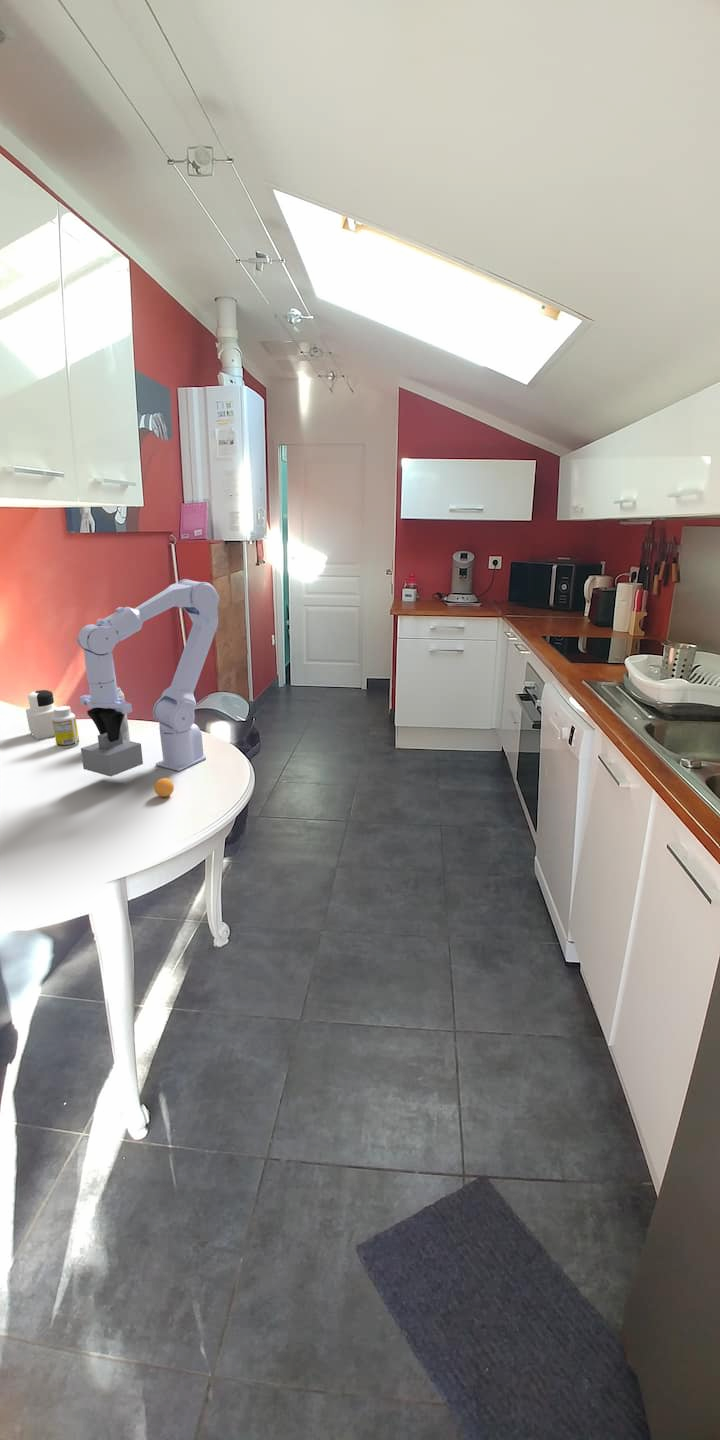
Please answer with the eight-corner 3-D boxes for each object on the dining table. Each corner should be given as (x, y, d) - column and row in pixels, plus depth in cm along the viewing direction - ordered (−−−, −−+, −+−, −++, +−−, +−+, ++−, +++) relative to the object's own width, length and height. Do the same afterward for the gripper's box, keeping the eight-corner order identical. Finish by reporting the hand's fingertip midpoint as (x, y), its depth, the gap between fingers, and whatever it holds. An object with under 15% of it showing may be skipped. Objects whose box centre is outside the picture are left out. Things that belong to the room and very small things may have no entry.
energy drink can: (111, 740, 180) (103, 685, 175) (133, 739, 180) (126, 685, 175) (102, 748, 174) (94, 692, 169) (125, 747, 174) (118, 692, 169)
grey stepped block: (116, 756, 158) (112, 724, 155) (143, 763, 153) (139, 730, 151) (83, 768, 150) (79, 735, 148) (110, 776, 146) (106, 742, 144)
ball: (162, 782, 148) (168, 772, 146) (173, 796, 147) (180, 785, 145) (148, 789, 145) (154, 778, 143) (159, 803, 144) (166, 792, 142)
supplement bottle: (68, 740, 180) (62, 703, 177) (84, 743, 178) (78, 706, 174) (51, 747, 175) (45, 709, 172) (67, 750, 173) (61, 712, 170)
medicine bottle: (56, 727, 190) (49, 686, 186) (64, 734, 185) (57, 692, 181) (29, 733, 186) (22, 691, 182) (37, 740, 181) (29, 697, 177)
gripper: (64, 680, 146) (74, 739, 150) (109, 689, 139) (118, 750, 143) (91, 673, 152) (100, 730, 156) (136, 681, 145) (144, 740, 149)
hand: (110, 739), depth 150 cm, fingers closed on grey stepped block
